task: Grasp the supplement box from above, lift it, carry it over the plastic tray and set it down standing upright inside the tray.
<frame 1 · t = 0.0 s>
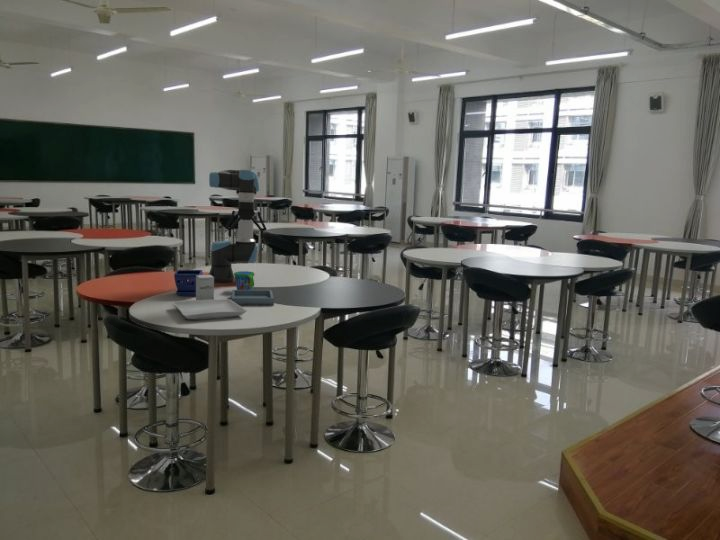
hand: (245, 243, 276), 28 cm above the table, tool pointing down, fingers open, 13 cm apart
supplement box: (204, 301, 270), on the table
tray: (252, 300, 275), on the table
snack cup: (243, 291, 298), on the table
flower pot: (188, 294, 283), on the table
square plate: (208, 314, 247), on the table
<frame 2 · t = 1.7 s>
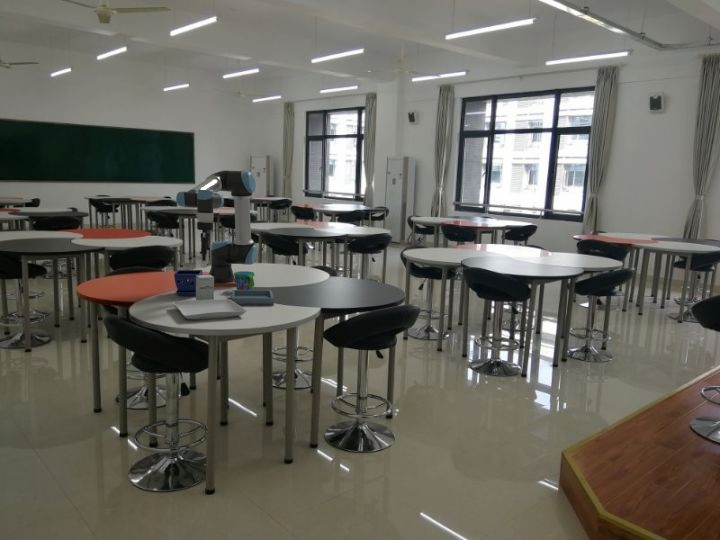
hand: (204, 265, 266), 18 cm above the table, tool pointing down, fingers open, 13 cm apart
nothing on the table moved.
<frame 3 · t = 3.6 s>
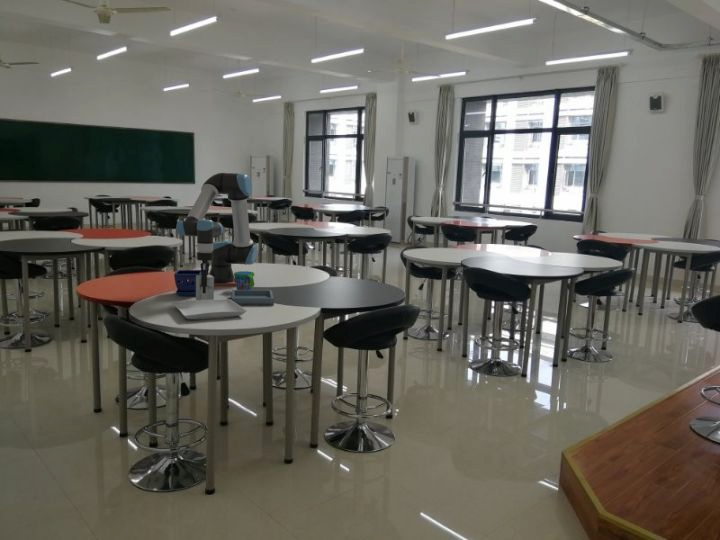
hand: (204, 297, 269), 2 cm above the table, tool pointing down, fingers closed on supplement box, 8 cm apart
supplement box: (204, 301, 269), on the table, touching gripper
everything else where it was.
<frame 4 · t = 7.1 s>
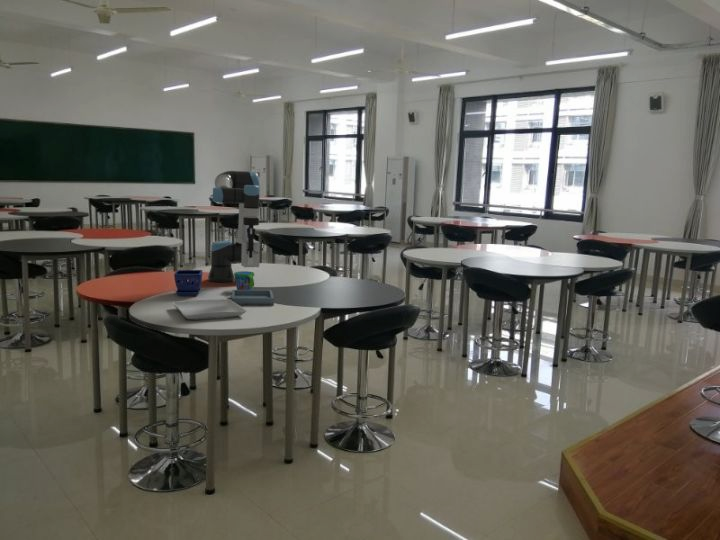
hand: (250, 262, 272), 19 cm above the table, tool pointing down, fingers closed on supplement box, 8 cm apart
supplement box: (250, 266, 272), point 17 cm above the table, touching gripper
everything else where it was.
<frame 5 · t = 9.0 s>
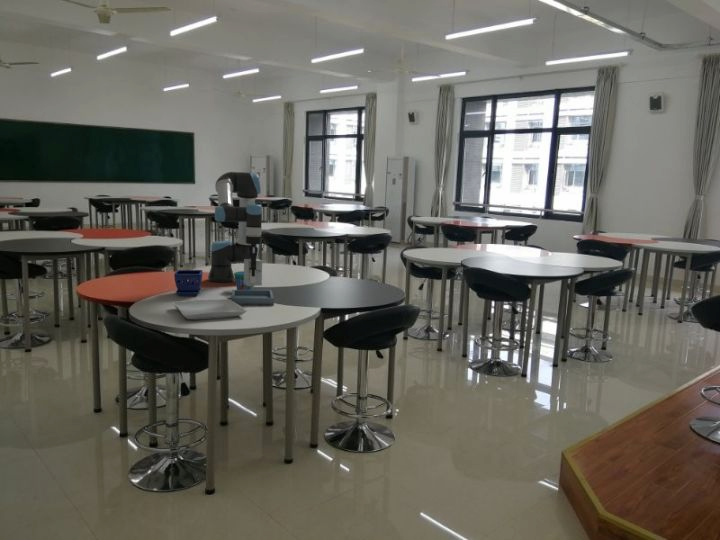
hand: (252, 280, 274), 10 cm above the table, tool pointing down, fingers closed on supplement box, 8 cm apart
supplement box: (252, 285, 274), point 8 cm above the table, touching gripper
everything else where it was.
when the fingers open (4 cm above the table, at t = 10.6 s): supplement box drops 1 cm, resting on tray.
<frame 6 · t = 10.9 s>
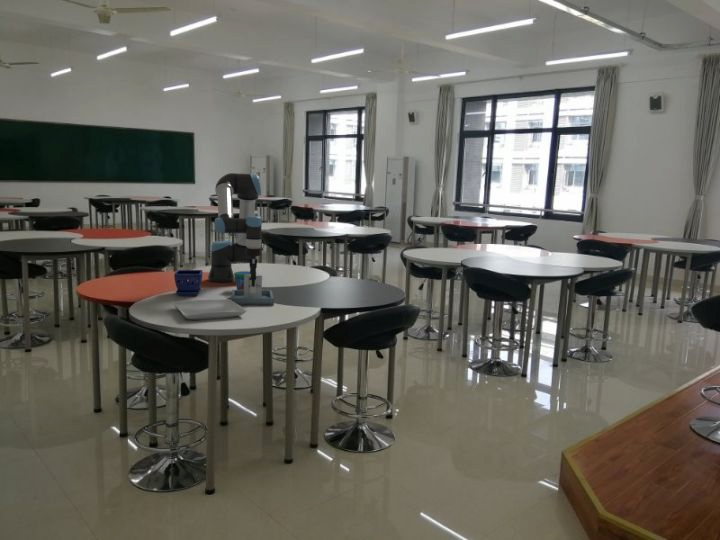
hand: (252, 290, 275), 5 cm above the table, tool pointing down, fingers open, 12 cm apart
supplement box: (252, 299, 274), point 1 cm above the table, touching tray
everything else where it was.
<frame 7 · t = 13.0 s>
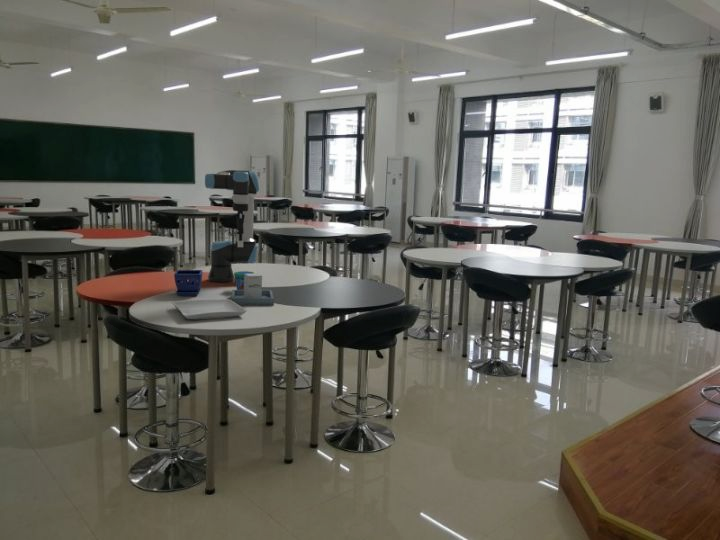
hand: (240, 245, 278), 27 cm above the table, tool pointing down, fingers open, 13 cm apart
nothing on the table moved.
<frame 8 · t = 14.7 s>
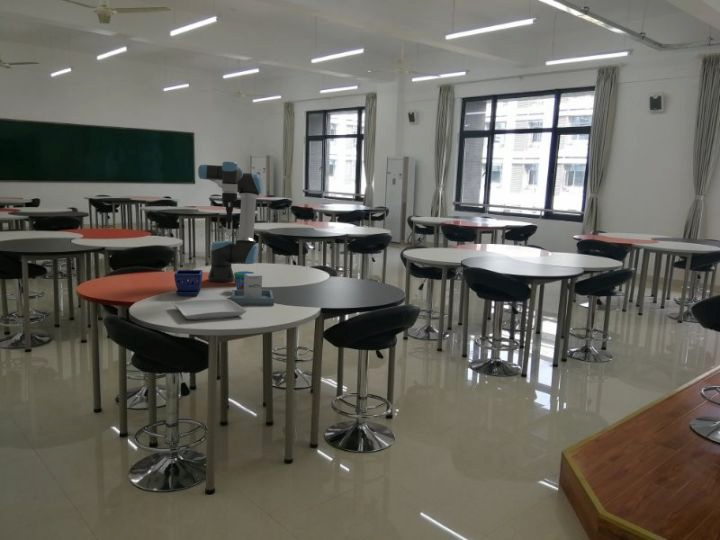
hand: (229, 234, 282), 32 cm above the table, tool pointing down, fingers open, 13 cm apart
nothing on the table moved.
at the end: supplement box inside the target area on the tray (0.9 cm from its centre), point 0.8 cm above the tray's base; supplement box tilted 0°; the gripper is holding nothing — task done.
